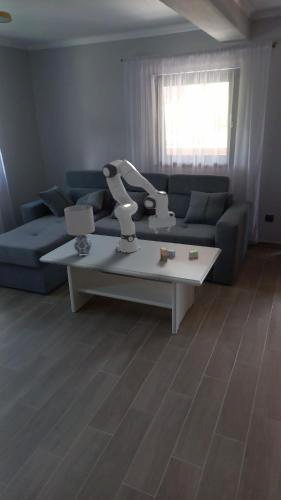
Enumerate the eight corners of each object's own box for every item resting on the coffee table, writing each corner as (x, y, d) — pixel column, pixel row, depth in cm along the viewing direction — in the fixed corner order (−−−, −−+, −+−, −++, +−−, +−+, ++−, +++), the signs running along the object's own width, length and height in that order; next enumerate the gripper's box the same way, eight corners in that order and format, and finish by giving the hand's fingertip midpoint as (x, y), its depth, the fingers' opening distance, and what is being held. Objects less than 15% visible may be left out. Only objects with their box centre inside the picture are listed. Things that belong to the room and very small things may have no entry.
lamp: (93, 258, 269) (88, 210, 256) (67, 259, 271) (60, 211, 259) (99, 249, 289) (94, 204, 276) (74, 249, 292) (68, 205, 279)
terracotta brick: (160, 253, 258) (160, 247, 257) (163, 252, 259) (163, 247, 258) (163, 255, 253) (163, 250, 251) (167, 255, 254) (167, 249, 252)
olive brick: (190, 258, 257) (190, 252, 256) (189, 257, 260) (188, 251, 258) (198, 256, 259) (198, 251, 258) (196, 255, 262) (196, 250, 260)
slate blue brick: (166, 255, 265) (166, 250, 264) (168, 254, 267) (168, 249, 266) (173, 257, 261) (172, 251, 260) (175, 256, 263) (175, 250, 262)
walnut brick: (160, 259, 260) (160, 253, 258) (164, 258, 261) (163, 252, 259) (163, 261, 254) (163, 255, 253) (167, 260, 255) (167, 255, 254)
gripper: (150, 217, 241) (150, 235, 246) (176, 213, 247) (176, 231, 252) (146, 215, 247) (147, 233, 252) (173, 211, 253) (173, 229, 258)
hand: (162, 232), depth 252 cm, fingers open, 8 cm apart
